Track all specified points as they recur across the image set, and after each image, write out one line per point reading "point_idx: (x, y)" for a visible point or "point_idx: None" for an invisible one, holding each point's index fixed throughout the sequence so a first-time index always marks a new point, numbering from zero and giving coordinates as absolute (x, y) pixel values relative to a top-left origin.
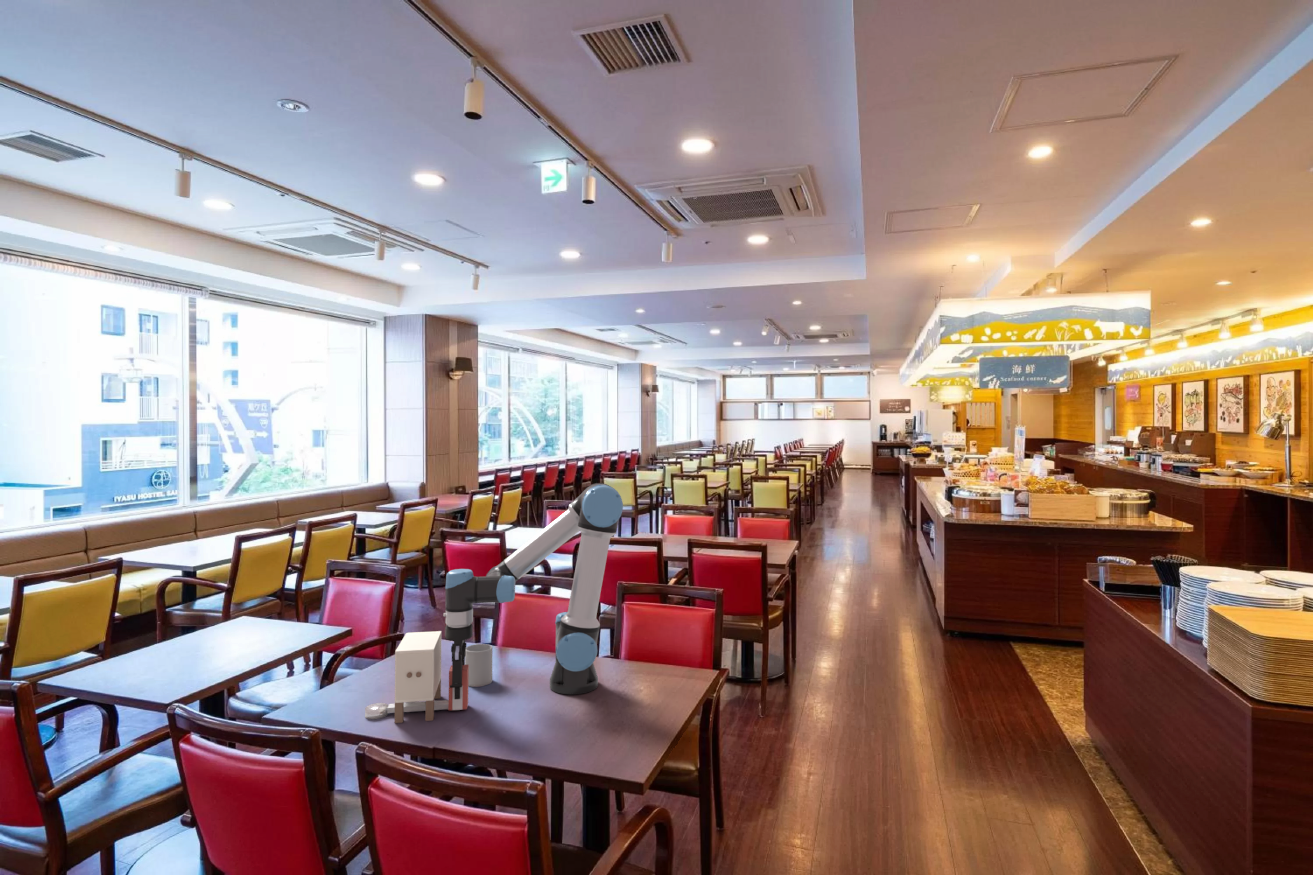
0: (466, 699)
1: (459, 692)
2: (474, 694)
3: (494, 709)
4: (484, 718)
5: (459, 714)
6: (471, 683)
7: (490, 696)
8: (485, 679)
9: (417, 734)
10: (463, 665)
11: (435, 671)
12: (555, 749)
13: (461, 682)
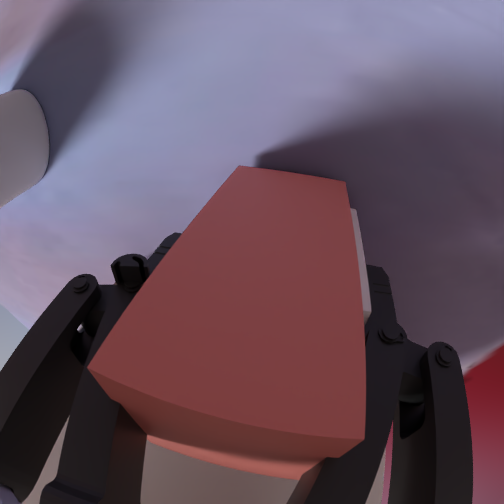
0: (349, 209)
1: (393, 303)
2: (113, 134)
3: (360, 22)
4: (469, 107)
5: (368, 215)
6: (40, 162)
7: (146, 49)
8: (21, 111)
9: (454, 347)
10: (132, 406)
11: (286, 493)
12: None
13: (432, 369)
